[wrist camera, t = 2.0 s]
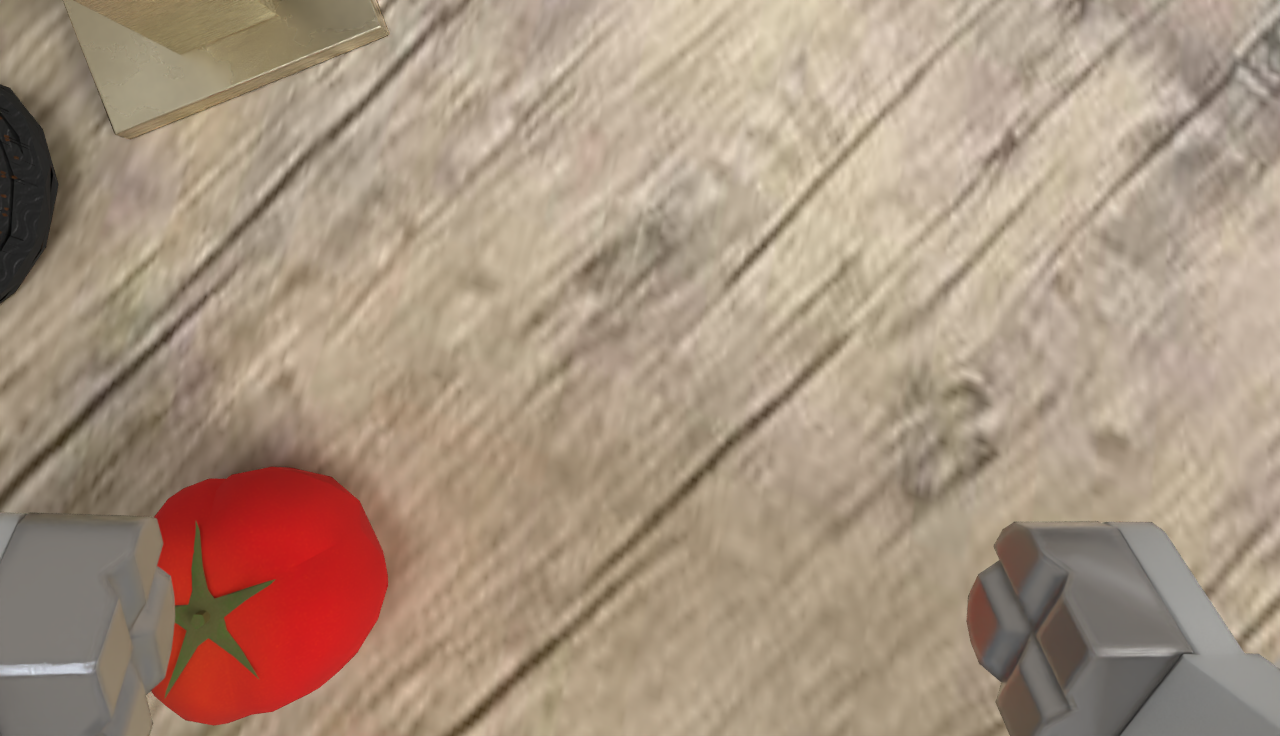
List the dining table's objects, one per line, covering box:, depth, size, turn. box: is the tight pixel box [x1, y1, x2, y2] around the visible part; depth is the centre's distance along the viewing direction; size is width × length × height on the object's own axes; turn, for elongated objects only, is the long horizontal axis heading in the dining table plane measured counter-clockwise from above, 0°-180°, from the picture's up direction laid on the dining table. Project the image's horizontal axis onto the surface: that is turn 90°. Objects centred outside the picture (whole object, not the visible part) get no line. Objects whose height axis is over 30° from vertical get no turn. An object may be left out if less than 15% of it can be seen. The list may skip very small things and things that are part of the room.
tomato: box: [151, 467, 388, 725], centre depth 41 cm, size 9×10×8 cm
